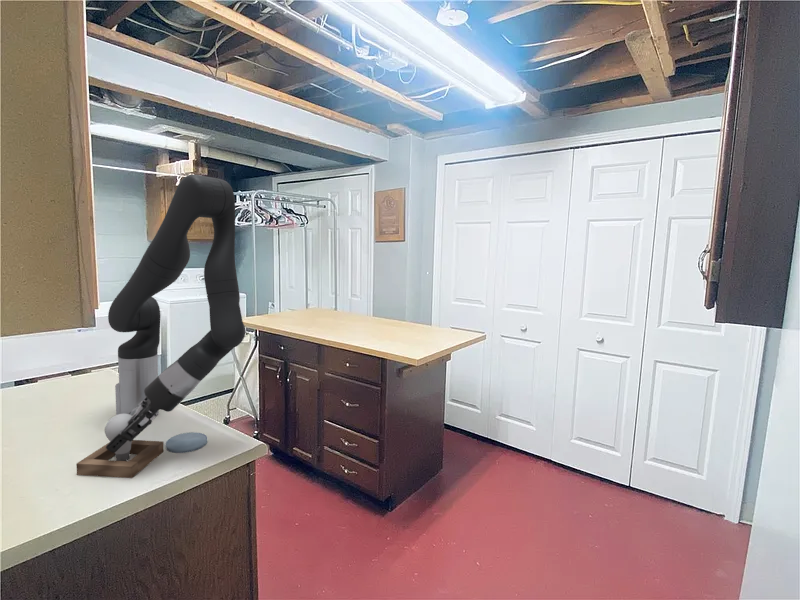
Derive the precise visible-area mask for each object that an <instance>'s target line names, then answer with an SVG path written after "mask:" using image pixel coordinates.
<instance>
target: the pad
mask: <svg viewBox="0 0 800 600" xmlns="http://www.w3.org/2000/svg"><path fill="white" fill-rule="evenodd" d="M207 443H208V436H207V434H205V433H202V432H197V431H196V432H195V431H190V432H184V433H179V434H175V435H173V436H171V437H170V438H168V439H167V440H166V441H165V449H166V451H168V452H170V453H173V454H174V453H175V454H186V453H192V452H195V451H198V450H200V449H203V448H204V447H205V446H206V445H207Z"/></svg>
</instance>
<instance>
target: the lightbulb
mask: <svg viewBox="0 0 800 600" xmlns="http://www.w3.org/2000/svg"><path fill="white" fill-rule="evenodd" d="M131 416H132V415H130V414H118V415H116V414H115V415H114V416H112V417H110V418H109V419H108V421H107V422H106V424H105V427H104V434H105V436H106V438H107V440H109V442H111V441H112V440H113V439H114V438H115V437H116V436H117V435H118V434H119V433H120V431H121V430H123V429H124V427H125V426H126V425H127V421H128V420H129V419H130V418H131ZM133 422H134V420H133ZM128 432H129V433H131V434H132V433H133V430H132V429H130V430H129V431H128ZM131 443H132V441H131V442H130V441H127V442H126V443H125V444H123V445H122V446H121V447H120V448H119V449H118V450H117V451H116V452H115V456H114V457H115V461H129V459H130V457H131V454H130V450H131Z"/></svg>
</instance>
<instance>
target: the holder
mask: <svg viewBox="0 0 800 600" xmlns="http://www.w3.org/2000/svg"><path fill="white" fill-rule="evenodd" d="M108 443H109V442H108ZM108 443H106V444H104V445H103V446H102V447H99V448H98V449H97V450H95V451H93V452H92V453H91V454H89V455H87V456H86V457H84V458H83V459H80V460H79V461H78V462H76V475H77V476H84V477H85V476H90V477H102V478H103V477H105V478H106V477H107V478H122V479H124V478H127V479H133V478H134V477H135V476H136V475H138V474H139V473H140V472H141V471H142V470H144V469H145V468H146V467H147V466H149V465H150V464H151V463H152V462H154V460H156V459H157V458H158V457H159V456H161V455H162V454H164V452H165V450H164V449H165V447H164V441H160V440H139V439H133V440H132V443H131V450H130V455H133V456H134V455H135V456H134V457H131V459H130V460H127V461H116V460H115V459H114V460H111V459H112V458H113V457H116V456H115V453H112V452H111V451H109V450H107V449H106V446H107V444H108Z"/></svg>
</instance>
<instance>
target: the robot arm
mask: <svg viewBox="0 0 800 600" xmlns="http://www.w3.org/2000/svg"><path fill="white" fill-rule="evenodd" d="M235 200H236V199H235V193H234V190H233V187H232V186H231V184H230V183H229V182H228V181H226V180H224V179H222V178H217V177H211V176H206V175H200V174H189V175H186V176H184V178H182V179H181V181H180V182H179V184H178V186H177V187H176V189H175V192H174V194H173V197H172V198H171V201H170V203H169V206H168V208H167V211H166V214H165V216H164V218H163V220H162V222H161V224H160V226H159V228H158V229H157V232H156V233H155V234H154V235H155V236H154V237H153V239H152V240H151V242H150V243H149V245H148V246H147V248H146V250H145V252H144V254H143V256H142V257H141V259H140V261H139V263H138V265H137V267H136V268H135V270H134V272H133V274H132V275H131V277H129V279H128V281H127V283H126V284H125V285H124V286H123V288H122V289H121V290H120V291H119V293H118V294H117V295H116V297H115V298H114V299H113V301H112V303H111V304H110V307H109V309H108V312H107V315H108V316H107V318H108V319H107V320H108V324H109V326H110V327H111V329H112V330H114V331H116V332H118V333H133V332H135V334H134V335H133V336H132V337H131V338H130V339H128V340H127V341H125V342H123V343H121V344H120V345H119V346H118V349H117V359H118V360H117V362H118V363H117V365H118V383H116V384H115V387H114V388H115V389H114V390H115V416H116V415H118V414H130V415H132V416H131V418H130V419H129V420H128V421H127V425H126V426H125V427H124V429H123V430H121V431H120V433H119V434H118V435H117V436H116V437H115V438H114V439H113V440H112V441H111V442H110V441H109V442H108V444H107V443H106V444H107V446H106V449H107V450H109V451H111V452H112V453H115V452H116V451H117V450H118V449H119V448H120V447H121V446H122V445H123V444H125V443H126V442H127V441H130V442H131V441H132V440H135V438H136V437H138V436H139V434H141V433H142V432H143V431H144V430H145V429H147V427H149V426H150V425H151V424H152V423H153V420H154V419H155V418H156V417H157V416H158V414H159V413H160V411H159V410H162V411H163V412H172V411H173V410H174V409H175V408H176V407H178V405H180V403H181V402H182V401H184V400H185V398H187V396H189V395H190V393H192V392H193V391H194V390H195V389H196V387H198V385H199V384H200V382H201V381H203V380H204V379H205V378H206V376H208V375H209V374H210V373H211V372H212V371H213V370H214V369H215V367H216V366H217V365H218V364H219V362H220V361H221V360H222V359H223V358H225V356H227V355H228V354H229V353H230V352H231V351H232V350H233V349H234V348H237V347H238V346H239V345H241V344H242V342H243V341H244V339H245V336H246V333H247V332H246V331H247V330H246V326H245V324H244V323H243V316H242V312H241V306H240V300H241V298H240V288H239V287H240V286H239V281H238V275H237V269H236V268H237V267H236V266H237V265H236V257H235V256H236V255H235V253H236V252H235V251H236V248H235V246H236V243H235V242H236V241H235V239H236V201H235ZM199 218H208V219H211V221H212V224H213V225H212V226H213V240H212V245H211V246H210V249H209V252H208V255H207V257H206V261H205V264H204V269H203V276H204V278H203V279H204V286H205V292H206V298H207V301H208V306H209V309H208V310H209V325H210V326H209V327H210V330H209V331H208V332H207V333H206V334H205V335H204V336H203V337H202V338H201V339H200V340H199V341H198V342H197V343H195V344H193V346H191V347H189V348H188V350H186V351H185V352H184V353H183V354H182V355H181V356H180V357H179V358H177V359H176V361H174V362H173V363H171V364H170V365H169V366H168V367H166V368H165V369H164V370H163V371H162V372H161V373H160V374H159V364H158V363H159V356H158V355H159V354H158V350H159V345H160V340H161V339H160V338H161V336H160V334H161V308H160V306H159V302H158V301H157V299H155V298H154V297H153V296H155V295H157V294H158V293H160V292H162V291H164V289H167V288H168V287H169V286H171V285H172V284H174V283H175V282H176V281H177V280H178V279H179V278H180V276H181V275H182V273H183V272H184V270H185V268H186V267H187V266H188V263H189V261H190V258H191V251H190V250H191V249H190V244H189V240H188V234H189V231H190V229H191V227H192V225H193V224H194V223H195V221H196V220H197V219H199ZM133 420H134V422H133ZM130 429H132V430H133V433H132V434H131V433H129V432H128V431H129V430H130Z"/></svg>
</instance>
